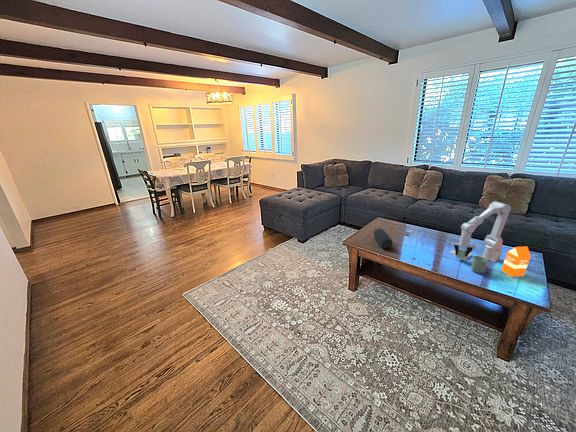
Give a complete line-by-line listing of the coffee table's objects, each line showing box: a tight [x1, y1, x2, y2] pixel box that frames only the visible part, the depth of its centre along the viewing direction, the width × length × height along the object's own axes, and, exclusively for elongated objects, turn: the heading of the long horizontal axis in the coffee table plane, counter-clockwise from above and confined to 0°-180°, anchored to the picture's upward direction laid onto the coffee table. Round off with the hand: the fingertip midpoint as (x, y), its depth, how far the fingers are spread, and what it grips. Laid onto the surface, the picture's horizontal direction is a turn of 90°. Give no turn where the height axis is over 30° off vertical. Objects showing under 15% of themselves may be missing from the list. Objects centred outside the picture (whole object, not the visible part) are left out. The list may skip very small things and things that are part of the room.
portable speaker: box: [373, 228, 393, 249], centre depth 206 cm, size 25×10×10 cm, turn 178°
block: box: [455, 248, 467, 260], centre depth 176 cm, size 4×4×6 cm
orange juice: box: [501, 246, 531, 277], centre depth 158 cm, size 8×9×20 cm
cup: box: [470, 255, 489, 274], centre depth 162 cm, size 8×8×10 cm
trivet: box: [450, 249, 473, 260], centre depth 185 cm, size 10×10×3 cm
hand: (461, 255), depth 177 cm, fingers closed on block, 6 cm apart
